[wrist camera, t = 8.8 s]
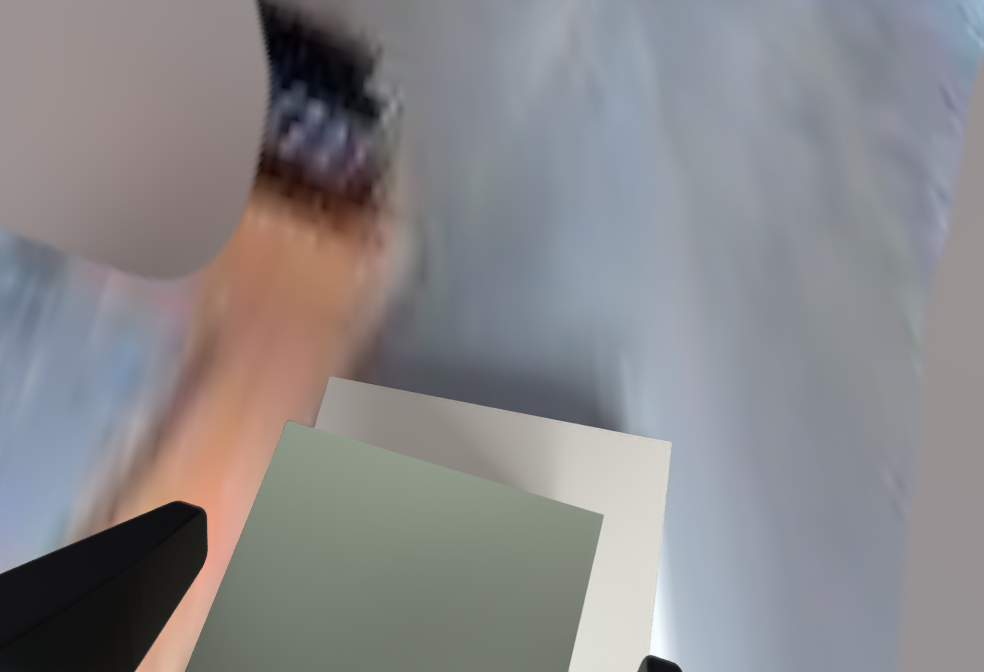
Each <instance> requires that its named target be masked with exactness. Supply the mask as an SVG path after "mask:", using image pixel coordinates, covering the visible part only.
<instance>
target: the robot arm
mask: <svg viewBox="0 0 984 672" xmlns="http://www.w3.org/2000/svg"><path fill="white" fill-rule="evenodd" d="M207 551H208V541H207V514H206V512H205V510H204V509H203V508H201V507H199V506H196V505H193V504H189V503H186V502H183V501H174V502H171V503H168V504H166V505H163V506H161V507H159V508H156V509H154V510H151V511H149V512H147V513H144V514H142V515H139V516H137V517H135V518H132V519H130V520H128V521H125V522H123V523H120V524H118V525H116V526H113V527H111V528H108V529H106V530H104V531H101V532H99V533H97V534H94V535H92V536H89V537H87V538H85V539H82V540H80V541H78V542H75V543H73V544H70V545H68V546H66V547H63V548H61V549H58V550H56V551H54V552H51V553H49V554H47V555H44V556H42V557H39V558H37V559H35V560H32V561H30V562H27V563H25V564H23V565H20V566H18V567H16V568H13V569H11V570H8V571H6V572H4V573H1V574H0V672H135V671H136V669H137V668H138V666H139V665H140V663H141V662H142V660H143V659H144V658H145V656H146V655H147V653H148V651H149V650H150V648H151V647H152V645H153V644H154V642H155V641H156V639H157V637H158V636H159V634H160V633H161V631H162V630H163V628H164V627H165V625H166V623H167V622H168V620H169V619H170V617H171V616H172V614H173V613H174V611H175V609H176V608H177V606H178V605H179V603H180V602H181V600H182V598H183V597H184V595H185V594H186V592H187V591H188V589H189V588H190V586H191V584H192V583H193V581H194V580H195V578H196V577H197V575H198V574H199V572H200V570H201V569H202V567H203V565H204V563H205V560H206V557H207ZM637 672H682V670H681V669H680V667H679V666H678V665H677V664H675V663H673V662H671V661H668V660H665V659H662V658H659V657H656V656H653V655H647V656H646V657H645V658H644V659H643V660H642V662H641V664H640V667H639V669H638V671H637Z"/></svg>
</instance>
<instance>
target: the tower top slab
mask: <svg viewBox="0 0 984 672" xmlns="http://www.w3.org/2000/svg"><path fill="white" fill-rule="evenodd" d="M314 428H315V429H319V430H322V431H325V432H329V433H332V434H335V435H339V436H342V437H345V438H349V439H352V440H356V441H359V442H362V443H366V444H369V445H372V446H376V447H379V448H382V449H386V450H389V451H392V452H396V453H399V454H402V455H406V456H409V457H412V458H416V459H419V460H422V461H426V462H429V463H432V464H436V465H439V466H442V467H446V468H449V469H453V470H456V471H459V472H463V473H466V474H469V475H473V476H476V477H479V478H483V479H486V480H489V481H493V482H496V483H499V484H503V485H506V486H509V487H513V488H516V489H519V490H523V491H526V492H529V493H533V494H536V495H539V496H543V497H546V498H550V499H553V500H556V501H560V502H563V503H566V504H570V505H573V506H576V507H580V508H583V509H586V510H590V511H593V512H596V513H600V514H603V515H604V518H603V523H602V527H601V531H600V536H599V540H598V544H597V549H596V553H595V557H594V562H593V566H592V570H591V575H590V579H589V584H588V588H587V592H586V597H585V601H584V605H583V610H582V614H581V618H580V623H579V627H578V632H577V636H576V640H575V645H574V649H573V653H572V658H571V662H570V666H569V671H568V672H637V671H638V669H639V667H640V664H641V662H642V660H643V659H644V658H645V657H646V656H647V655H649V650H650V641H651V632H652V622H653V613H654V604H655V594H656V585H657V576H658V566H659V557H660V548H661V538H662V529H663V519H664V510H665V501H666V491H667V482H668V473H669V463H670V454H671V445H672V442H667V441H662V440H657V439H652V438H647V437H642V436H636V435H631V434H626V433H621V432H616V431H611V430H605V429H600V428H595V427H590V426H585V425H580V424H574V423H569V422H564V421H559V420H554V419H549V418H544V417H538V416H533V415H528V414H523V413H518V412H513V411H507V410H502V409H497V408H492V407H487V406H482V405H476V404H471V403H466V402H461V401H456V400H451V399H445V398H440V397H435V396H430V395H425V394H420V393H414V392H409V391H404V390H399V389H394V388H389V387H384V386H378V385H373V384H368V383H363V382H358V381H353V380H347V379H342V378H337V377H332V376H330V377H329V381H328V384H327V387H326V390H325V394H324V397H323V400H322V404H321V407H320V410H319V413H318V417H317V420H316V423H315V427H314Z"/></svg>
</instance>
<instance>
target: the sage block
mask: <svg viewBox="0 0 984 672" xmlns="http://www.w3.org/2000/svg"><path fill="white" fill-rule="evenodd" d="M603 518H604V515H603V514H600V513H596V512H593V511H590V510H586V509H583V508H580V507H576V506H573V505H570V504H566V503H563V502H560V501H556V500H553V499H550V498H546V497H543V496H539V495H536V494H533V493H529V492H526V491H523V490H519V489H516V488H513V487H509V486H506V485H503V484H499V483H496V482H493V481H489V480H486V479H483V478H479V477H476V476H473V475H469V474H466V473H463V472H459V471H456V470H453V469H449V468H446V467H442V466H439V465H436V464H432V463H429V462H426V461H422V460H419V459H416V458H412V457H409V456H406V455H402V454H399V453H396V452H392V451H389V450H386V449H382V448H379V447H376V446H372V445H369V444H366V443H362V442H359V441H356V440H352V439H349V438H345V437H342V436H339V435H335V434H332V433H329V432H325V431H322V430H319V429H315V428H312V427H309V426H305V425H302V424H299V423H295V422H292V421H289V420H287V423H286V425H285V428H284V430H283V432H282V435H281V437H280V440H279V442H278V445H277V447H276V450H275V452H274V455H273V457H272V459H271V462H270V464H269V467H268V469H267V472H266V474H265V477H264V479H263V482H262V484H261V486H260V489H259V491H258V494H257V496H256V499H255V501H254V504H253V506H252V508H251V511H250V513H249V516H248V518H247V521H246V523H245V526H244V528H243V531H242V533H241V535H240V538H239V540H238V543H237V545H236V548H235V550H234V553H233V555H232V558H231V560H230V562H229V565H228V567H227V570H226V572H225V575H224V577H223V580H222V582H221V585H220V587H219V589H218V592H217V594H216V597H215V599H214V602H213V604H212V607H211V609H210V611H209V614H208V616H207V619H206V621H205V624H204V626H203V629H202V631H201V634H200V636H199V638H198V641H197V643H196V646H195V648H194V651H193V653H192V656H191V658H190V661H189V663H188V665H187V668H186V670H185V672H568V671H569V666H570V662H571V658H572V653H573V649H574V645H575V640H576V636H577V632H578V627H579V623H580V618H581V614H582V610H583V605H584V601H585V597H586V592H587V588H588V584H589V579H590V575H591V570H592V566H593V562H594V557H595V553H596V549H597V544H598V540H599V536H600V531H601V527H602V523H603Z"/></svg>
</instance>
